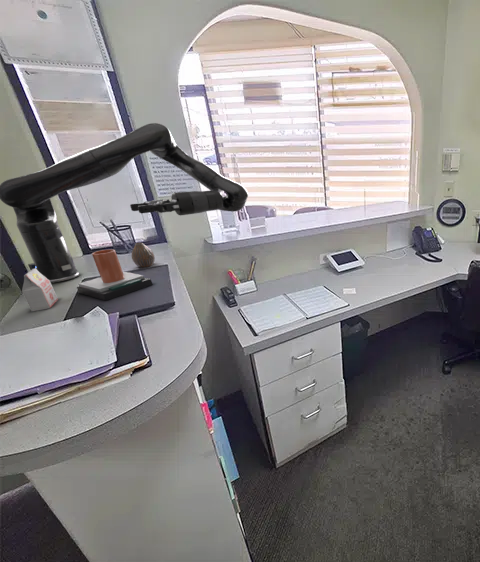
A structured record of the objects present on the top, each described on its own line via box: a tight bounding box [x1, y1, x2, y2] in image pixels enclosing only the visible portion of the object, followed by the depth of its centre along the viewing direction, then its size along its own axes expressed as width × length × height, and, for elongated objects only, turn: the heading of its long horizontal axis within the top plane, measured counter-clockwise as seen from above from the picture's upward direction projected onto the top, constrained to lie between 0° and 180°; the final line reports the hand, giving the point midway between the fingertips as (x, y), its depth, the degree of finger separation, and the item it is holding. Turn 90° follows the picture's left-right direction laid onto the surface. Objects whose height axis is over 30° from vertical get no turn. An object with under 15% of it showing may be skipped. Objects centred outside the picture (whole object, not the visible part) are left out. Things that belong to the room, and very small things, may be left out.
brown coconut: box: [130, 242, 156, 268], centre depth 117 cm, size 7×7×9 cm
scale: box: [76, 270, 153, 301], centre depth 96 cm, size 15×13×3 cm
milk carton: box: [21, 268, 59, 312], centre depth 85 cm, size 4×7×10 cm, turn 30°
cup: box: [91, 248, 125, 283], centre depth 94 cm, size 5×5×9 cm
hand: (134, 208), depth 96 cm, fingers open, 8 cm apart
